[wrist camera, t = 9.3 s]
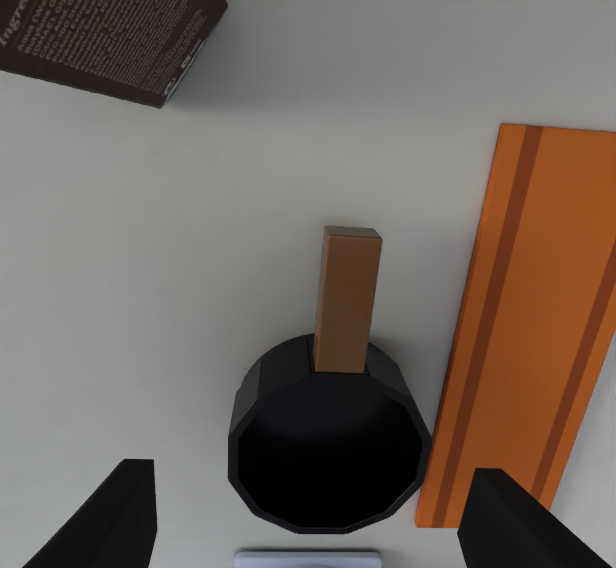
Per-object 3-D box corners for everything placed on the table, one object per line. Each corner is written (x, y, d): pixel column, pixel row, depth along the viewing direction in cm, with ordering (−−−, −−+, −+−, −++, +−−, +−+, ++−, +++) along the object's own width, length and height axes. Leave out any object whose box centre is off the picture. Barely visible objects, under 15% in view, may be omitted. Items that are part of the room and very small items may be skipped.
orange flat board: (538, 522, 23) (543, 529, 23) (414, 521, 23) (416, 528, 22) (676, 137, 16) (686, 138, 16) (500, 123, 16) (506, 123, 15)
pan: (394, 476, 22) (412, 535, 18) (235, 473, 21) (227, 534, 18) (441, 222, 17) (476, 244, 14) (240, 209, 16) (230, 229, 13)
